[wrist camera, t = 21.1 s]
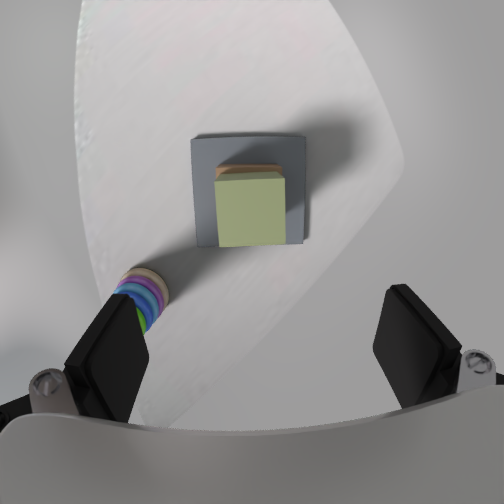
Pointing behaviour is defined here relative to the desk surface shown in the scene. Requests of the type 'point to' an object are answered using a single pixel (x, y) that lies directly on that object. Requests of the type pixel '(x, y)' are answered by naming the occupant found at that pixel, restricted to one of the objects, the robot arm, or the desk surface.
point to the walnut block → (246, 168)
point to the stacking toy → (145, 294)
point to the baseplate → (247, 152)
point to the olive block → (250, 209)
